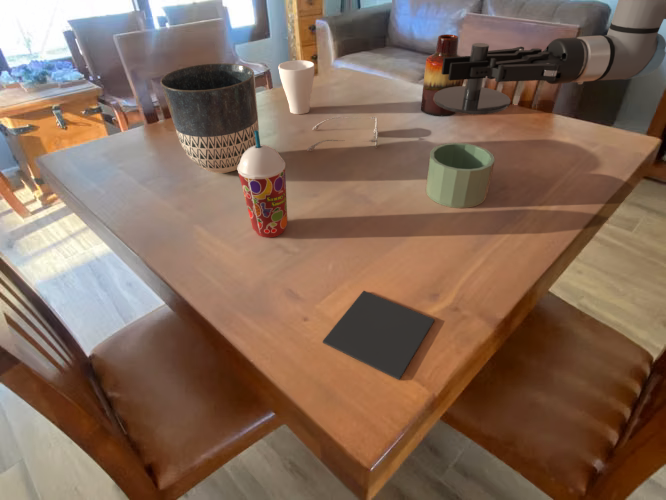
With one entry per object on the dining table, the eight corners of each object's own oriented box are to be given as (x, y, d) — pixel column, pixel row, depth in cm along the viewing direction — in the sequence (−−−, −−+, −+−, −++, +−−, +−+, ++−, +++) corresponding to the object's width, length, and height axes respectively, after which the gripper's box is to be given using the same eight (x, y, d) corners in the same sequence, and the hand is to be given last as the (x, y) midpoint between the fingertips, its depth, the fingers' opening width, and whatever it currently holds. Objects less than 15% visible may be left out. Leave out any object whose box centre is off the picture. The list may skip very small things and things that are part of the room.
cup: (290, 119, 126) (286, 72, 118) (277, 108, 134) (272, 63, 125) (322, 113, 130) (320, 66, 122) (308, 102, 137) (305, 58, 129)
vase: (415, 113, 128) (423, 39, 115) (427, 101, 135) (435, 30, 123) (451, 118, 124) (462, 42, 111) (461, 106, 131) (472, 33, 119)
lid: (517, 99, 81) (531, 40, 74) (496, 123, 72) (511, 59, 66) (448, 88, 87) (455, 33, 80) (421, 109, 78) (427, 49, 71)
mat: (434, 321, 63) (434, 319, 63) (399, 380, 56) (399, 378, 55) (363, 292, 69) (363, 290, 68) (322, 342, 61) (322, 340, 60)
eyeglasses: (377, 153, 108) (378, 138, 105) (306, 152, 109) (305, 138, 106) (376, 128, 120) (377, 114, 117) (312, 128, 121) (311, 115, 118)
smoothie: (282, 245, 79) (269, 144, 66) (241, 238, 81) (221, 139, 68) (298, 220, 85) (289, 123, 73) (259, 214, 87) (244, 119, 74)
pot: (493, 186, 93) (501, 150, 88) (475, 214, 85) (483, 176, 80) (438, 173, 99) (443, 138, 93) (416, 197, 90) (420, 161, 85)
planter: (260, 145, 113) (248, 59, 100) (272, 179, 98) (259, 84, 85) (184, 155, 109) (161, 68, 96) (185, 192, 95) (158, 95, 81)
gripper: (592, 95, 73) (459, 105, 71) (543, 69, 85) (430, 77, 83) (608, 48, 68) (467, 57, 66) (555, 28, 81) (434, 35, 79)
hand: (446, 68), depth 75 cm, fingers closed on lid, 3 cm apart
